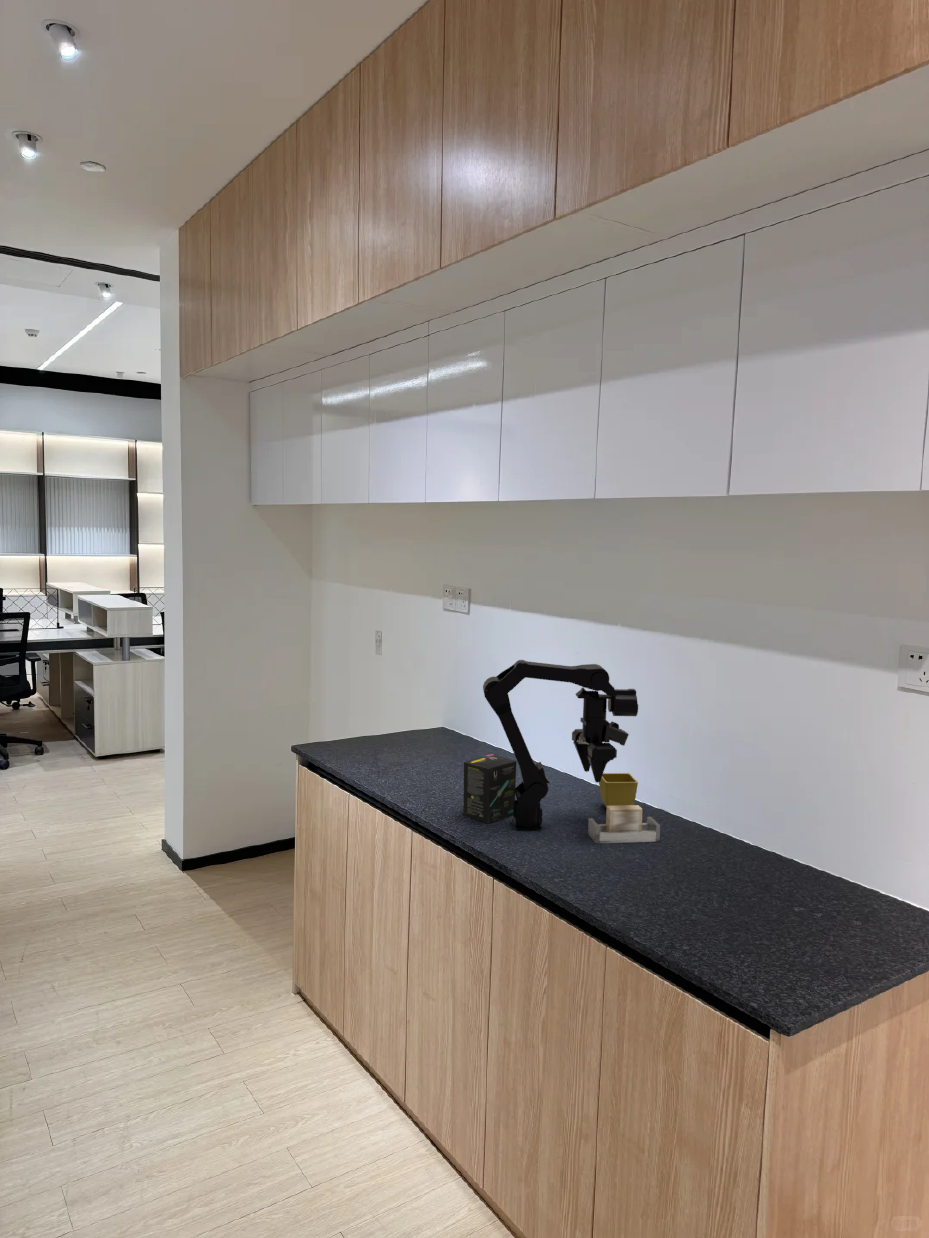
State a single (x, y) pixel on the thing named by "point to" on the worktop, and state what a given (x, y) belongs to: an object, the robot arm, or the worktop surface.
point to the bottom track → (624, 833)
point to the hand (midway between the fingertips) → (592, 776)
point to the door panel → (623, 818)
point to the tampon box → (489, 788)
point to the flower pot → (618, 789)
